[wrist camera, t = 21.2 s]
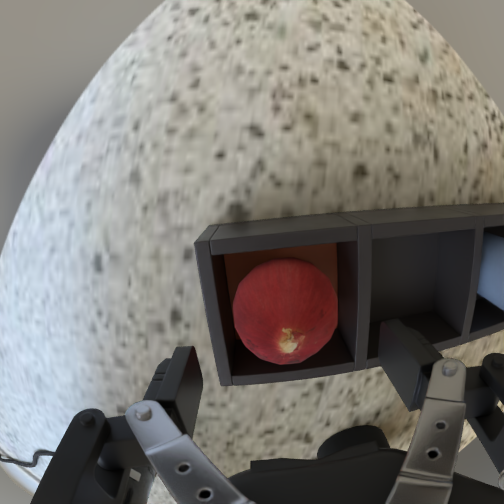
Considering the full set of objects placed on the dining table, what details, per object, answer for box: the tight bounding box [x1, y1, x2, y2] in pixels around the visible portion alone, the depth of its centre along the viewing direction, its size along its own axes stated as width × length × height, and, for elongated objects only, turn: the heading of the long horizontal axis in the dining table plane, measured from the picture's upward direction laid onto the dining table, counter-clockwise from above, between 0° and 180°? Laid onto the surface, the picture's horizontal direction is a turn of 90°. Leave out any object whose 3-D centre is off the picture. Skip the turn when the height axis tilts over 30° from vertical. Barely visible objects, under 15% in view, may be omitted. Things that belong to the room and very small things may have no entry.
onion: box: [233, 257, 338, 365], centre depth 16 cm, size 6×6×8 cm
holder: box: [194, 203, 504, 386], centre depth 18 cm, size 26×9×5 cm, turn 96°
